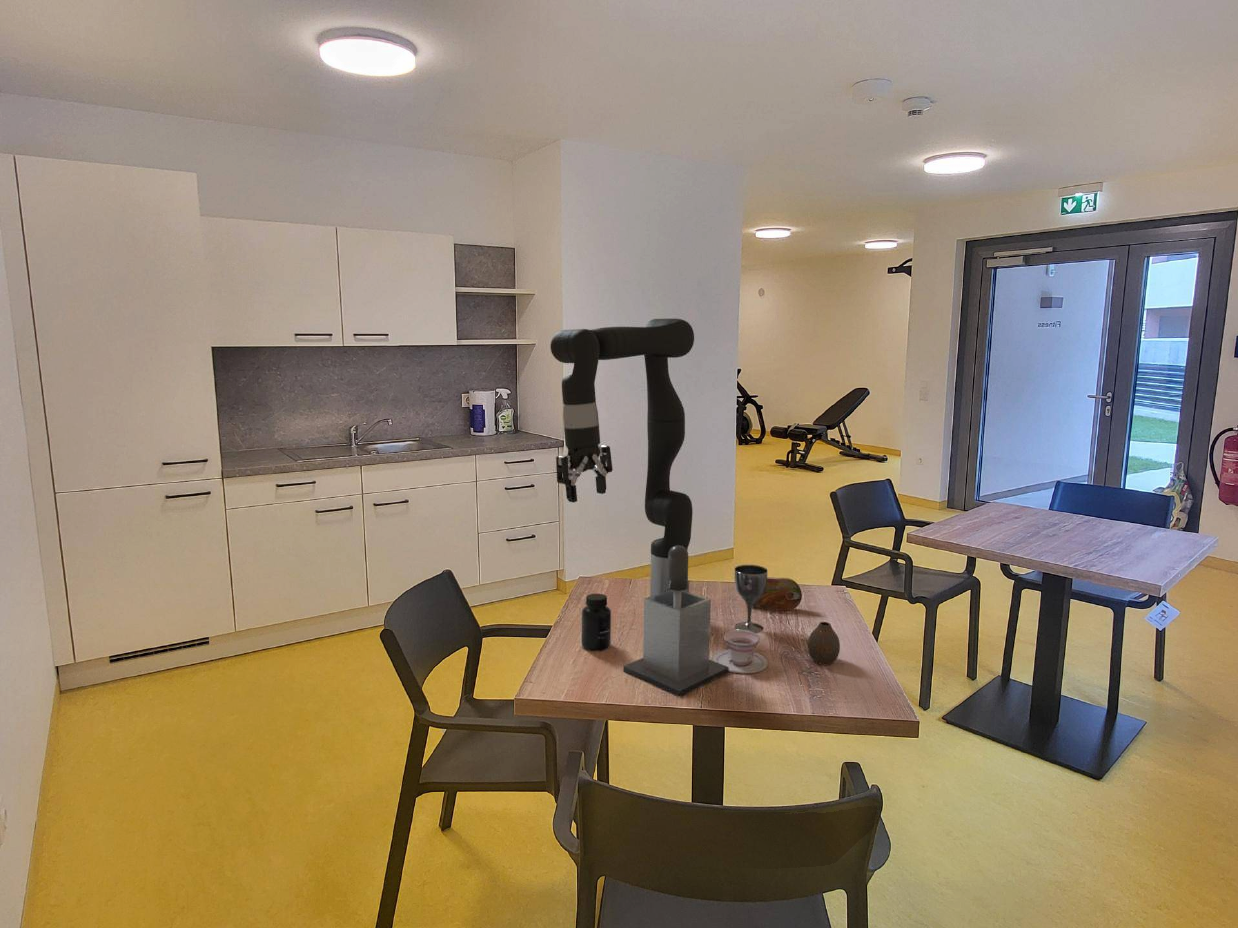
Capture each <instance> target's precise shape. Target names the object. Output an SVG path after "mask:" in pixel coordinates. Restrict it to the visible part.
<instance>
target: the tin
mask: <svg viewBox="0 0 1238 928" xmlns="http://www.w3.org/2000/svg"><path fill="white" fill-rule="evenodd" d="M802 597H803V594H802V590H801V587H800V584H798V583H797V582H796V580H793V579H791V578H789V577H773V576H771V577H769V576H767V583H766V587H765V590H764V593H763V594H762V595H761V596H760V597H759V598H758V599H757V600H756V601H755V603H754V604H753V606H752V608H755V609H759V610H773V611H775V610H776V611H783V612H784V611H792V610H794V609H796V608H797V607H798V606H799V605H800V604H801V601H802V600H803V599H802Z"/></svg>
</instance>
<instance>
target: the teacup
mask: <svg viewBox="0 0 1238 928" xmlns="http://www.w3.org/2000/svg"><path fill="white" fill-rule="evenodd" d="M723 640H724V642H725V643H726V646H727V648H728V649H726V650H721V651H718V652H717V653H715V655H713V656H712V661H714V662H717V663H719V664H722V665H725V666H727V667H729V672H728V673H733V674H741V675H742V674H743V675H745V674H747V675H748V674H755V673H760V672H762V671H764V670H765V669H766V668H767V667H768V660H767V658H765V657H764V656H763V655H761V653H758V652H754V650H755V649H756V647H757V645H758V644H759V643H760V636H759V635H758V633H754V632H752V631H748V630H736V629H733V630H730V631H726V632H725V634H724V635H723ZM730 661H732V662H733V664H731V663H730ZM749 663H750V664H749Z"/></svg>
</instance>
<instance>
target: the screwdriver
mask: <svg viewBox="0 0 1238 928" xmlns="http://www.w3.org/2000/svg"><path fill="white" fill-rule="evenodd" d="M688 581H689V552H688V550H686V548H685V547H683V546H680V545H676V546H674V547H672V548H671V549H670V551H669V553H668V588H669V589H671V590H674V607H675V608H678V609H681V591H682V590H686V589H687V588H688Z"/></svg>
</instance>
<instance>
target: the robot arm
mask: <svg viewBox="0 0 1238 928" xmlns="http://www.w3.org/2000/svg"><path fill="white" fill-rule="evenodd" d="M694 332H695V331H694V330H693V326H692V325H691V324H690V323H689V322H688V321H686V320H685V319H681V318H653V319H651V320H649V321H648V322H647V324H646V325H645V326H607V327H598V328H594V329H593V328H592V329H588V328H578V329H576V328H575V329H562V330H560V331H558V332H556V334H555V335H554V336H553V337H552V339H551V341H550V348H549V349H550V352H551V354H552V356H553V357H554V359H555V360H557V361H558V362H560V363H563V364H573V368H572V372H571V374H570V375H567V376H565V377H563V379H562V380H561V394H562V395H561V396H562V404H563V405H562V406H563V407H562V408H563V409H562V418H563V419H562V421H563V422H562V423H563V433H564V434H563V435H564V443H565V447H566V448H567V454H566V455H557V456H556V457H555V463H556V464H555V466H556V482H557V483H558V484H561V485H564V486H565V496H566V500H567V501H568V502H570V503H574V504H575V503H576V502H578V494H577V484H576V483H577V481H578V478H580V476H581V475H582V473H584V472H587V471H588V470H589V471H593V472H594V474H595V486H596V493H597V494H601V495H603V494H605V493H606V490H607V479H606V478H607V475H608V474H610V473H612V472H613V462H612V452H611V447H610V446H609V445H601V434H600V421H599V410H598V407H597V402H596V399H597V397H596V386H595V385H596V384H595V381H596V377H597V372H598V365H599V361H608V360H609V361H610V360H619V359H624V358H632V357H638V356H644V358H643V359H644V365H645V376H646V391H647V392H646V395H647V413H646V414H647V417H646V419H647V421H646V422H647V424H646V426H647V428H646V429H647V432H646V433H647V469H646V470H647V471H646V472H647V473H646V485H645V493H644V494H645V497H644V512H645V516H646V518H647V520H648V521H649V522H650V523H652V524H653V525H657V526H661V527H664V533H663V537H659V538H656V539H654V540H653V541H652V542H651V544H650V580H649V581H650V583H649V584H650V585H649V586H650V589H649V590H650V592H649V597H651V596H654V595H656V594H659V593H662V592H665V591H668V590H671V589H669V588H668V553H669V551H670V549H671V548H672V547H674V546H676V545H680V546H683V547H685V548H686V550H687V551H688V548H689V546H690V542H691V539H692V537H691V536H692V526H693V525H692V524H693V514H694V513H693V502H692V499H691V498H690V496H689V495H687V493H684V492H680V491H675V490H672V489H671V486H670V485H671V484H670V483H671V482H670V481H671V480H670V477H671V469H672V466H673V463H674V462H675V460H676V458H677V456H678V454H679V452H680V450H681V448H682V446H683V445H684V442H685V437H686V413H685V407H684V406H683V403H682V401H681V399H680V397H679V395H678V393H677V391H676V390H675V388H674V385H673V383H672V381H671V377H670V373H669V360H668V359H669V358H670V359H671V358H672V359H674V358H682V357H684V356H686V355H687V354H689V352H691V350H692V348H693V347H694V343H695V333H694ZM689 581H690V580H688V588H687V589H686V590H683V591H686V592H689V593H690V582H689Z"/></svg>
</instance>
